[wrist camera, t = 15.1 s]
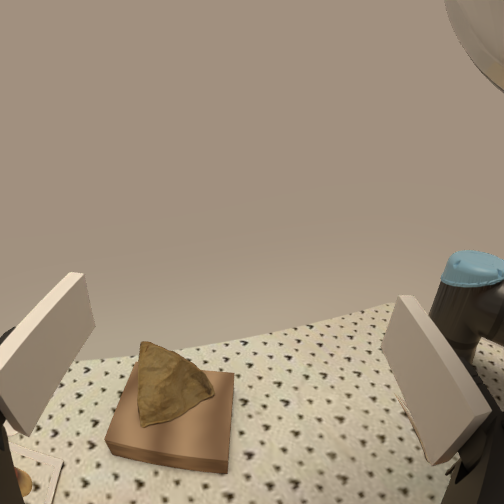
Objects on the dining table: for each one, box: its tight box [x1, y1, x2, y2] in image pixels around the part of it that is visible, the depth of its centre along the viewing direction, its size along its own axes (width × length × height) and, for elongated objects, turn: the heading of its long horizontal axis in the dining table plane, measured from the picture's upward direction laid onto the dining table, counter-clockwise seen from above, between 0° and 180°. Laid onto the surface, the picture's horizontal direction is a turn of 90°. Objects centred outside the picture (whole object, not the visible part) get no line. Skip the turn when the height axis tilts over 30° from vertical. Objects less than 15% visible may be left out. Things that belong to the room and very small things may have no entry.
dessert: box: [8, 441, 63, 504], centre depth 20 cm, size 12×12×5 cm
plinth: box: [104, 362, 234, 474], centre depth 36 cm, size 15×15×4 cm
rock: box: [137, 341, 215, 428], centre depth 35 cm, size 11×9×10 cm
